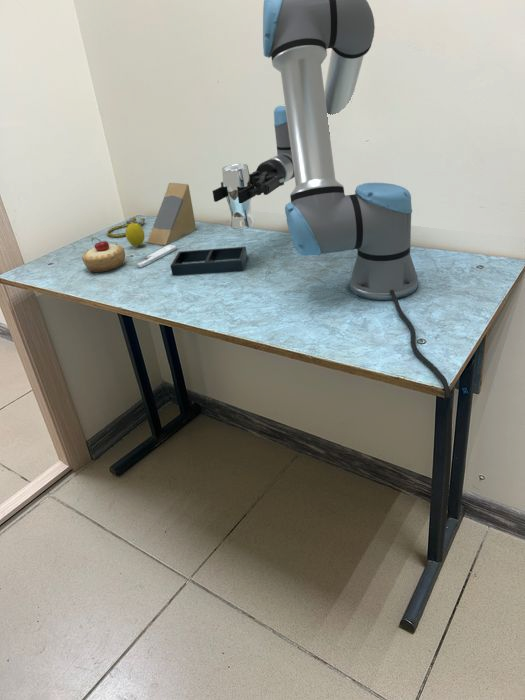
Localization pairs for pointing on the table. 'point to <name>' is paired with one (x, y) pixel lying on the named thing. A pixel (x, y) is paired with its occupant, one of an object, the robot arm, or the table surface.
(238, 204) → the beer glass
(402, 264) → the robot arm
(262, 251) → the table surface
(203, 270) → the black divided tray
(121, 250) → the pastry
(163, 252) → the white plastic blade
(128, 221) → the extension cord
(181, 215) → the sandwich container
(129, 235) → the lemon
